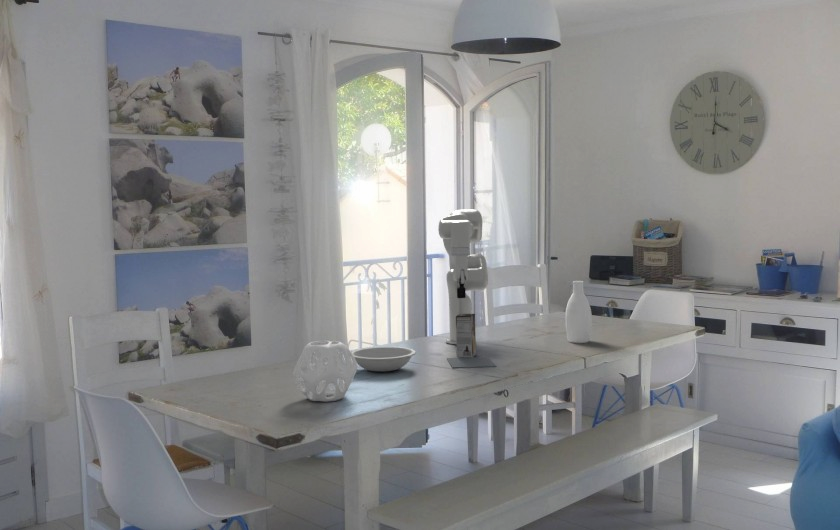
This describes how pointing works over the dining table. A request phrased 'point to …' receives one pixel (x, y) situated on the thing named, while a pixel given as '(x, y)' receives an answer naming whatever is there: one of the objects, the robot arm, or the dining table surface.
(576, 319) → the bottle
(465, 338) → the coffee box
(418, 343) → the dining table surface
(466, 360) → the slate mat
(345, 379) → the decorative ball
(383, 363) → the soup bowl
